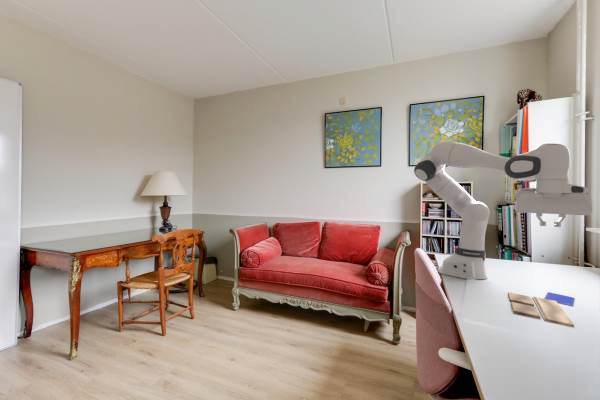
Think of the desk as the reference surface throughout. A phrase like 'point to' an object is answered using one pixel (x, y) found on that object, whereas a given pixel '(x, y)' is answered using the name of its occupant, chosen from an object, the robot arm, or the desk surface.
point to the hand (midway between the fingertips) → (549, 226)
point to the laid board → (552, 311)
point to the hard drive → (560, 299)
